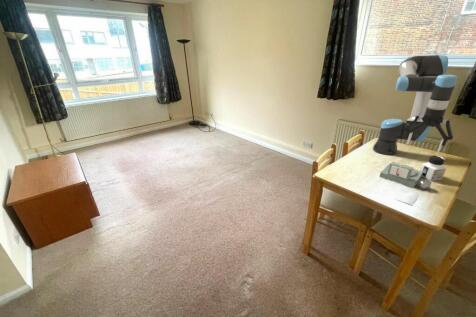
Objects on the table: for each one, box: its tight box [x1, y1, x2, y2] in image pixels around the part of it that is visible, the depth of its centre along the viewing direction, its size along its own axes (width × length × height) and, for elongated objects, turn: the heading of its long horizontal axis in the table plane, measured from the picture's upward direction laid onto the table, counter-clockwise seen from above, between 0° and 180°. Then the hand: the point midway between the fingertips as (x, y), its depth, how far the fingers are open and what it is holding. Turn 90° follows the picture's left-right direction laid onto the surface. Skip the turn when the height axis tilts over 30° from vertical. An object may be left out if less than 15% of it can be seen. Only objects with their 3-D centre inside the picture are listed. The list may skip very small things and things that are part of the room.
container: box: [419, 155, 447, 182], centre depth 128 cm, size 8×8×13 cm
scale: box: [379, 161, 423, 188], centre depth 130 cm, size 18×17×10 cm
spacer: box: [416, 178, 432, 192], centre depth 121 cm, size 5×5×4 cm
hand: (422, 147), depth 121 cm, fingers open, 13 cm apart
